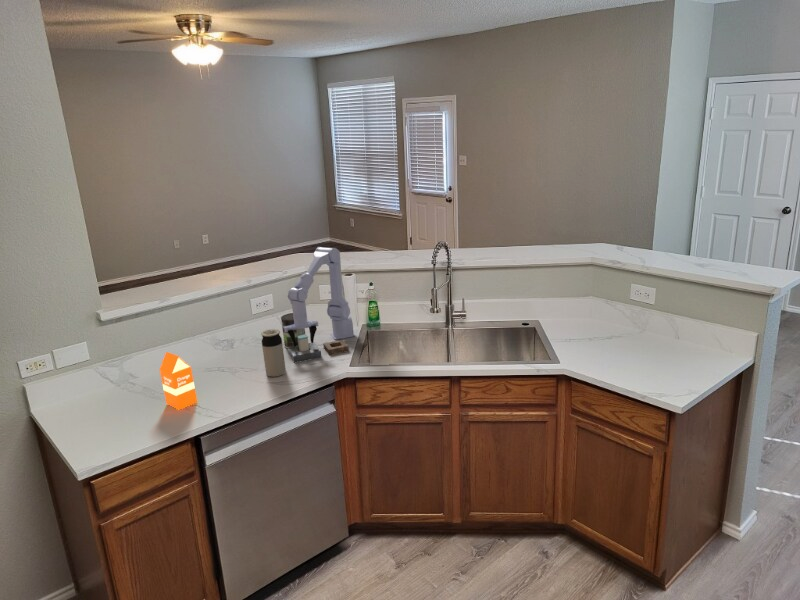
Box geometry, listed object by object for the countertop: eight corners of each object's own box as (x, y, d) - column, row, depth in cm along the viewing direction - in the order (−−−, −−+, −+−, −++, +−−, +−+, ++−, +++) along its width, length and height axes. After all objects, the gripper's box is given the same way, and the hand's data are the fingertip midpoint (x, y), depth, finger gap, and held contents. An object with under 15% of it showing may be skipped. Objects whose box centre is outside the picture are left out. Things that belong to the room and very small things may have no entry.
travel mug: (275, 378, 230) (269, 336, 225) (262, 374, 235) (256, 333, 229) (290, 371, 236) (284, 330, 231) (277, 367, 241) (271, 327, 235)
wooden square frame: (342, 344, 261) (342, 339, 261) (348, 351, 253) (348, 345, 253) (323, 348, 258) (323, 343, 258) (329, 355, 250) (328, 349, 250)
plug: (308, 353, 254) (305, 334, 252) (310, 356, 251) (307, 336, 248) (299, 354, 253) (297, 335, 250) (301, 357, 250) (299, 338, 247)
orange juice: (185, 396, 219) (175, 348, 213) (197, 402, 214) (188, 352, 208) (166, 404, 214) (156, 355, 208) (178, 411, 208) (168, 360, 202)
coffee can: (287, 350, 259) (283, 321, 255) (282, 343, 268) (278, 315, 264) (309, 346, 263) (306, 317, 258) (303, 339, 272) (300, 311, 268)
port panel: (314, 348, 259) (314, 341, 258) (321, 357, 249) (320, 350, 248) (288, 353, 255) (287, 346, 254) (294, 362, 245) (293, 355, 244)
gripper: (285, 320, 240) (288, 350, 244) (318, 314, 245) (322, 343, 249) (281, 315, 247) (285, 345, 251) (314, 309, 252) (317, 338, 256)
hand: (303, 344), depth 250 cm, fingers open, 7 cm apart
